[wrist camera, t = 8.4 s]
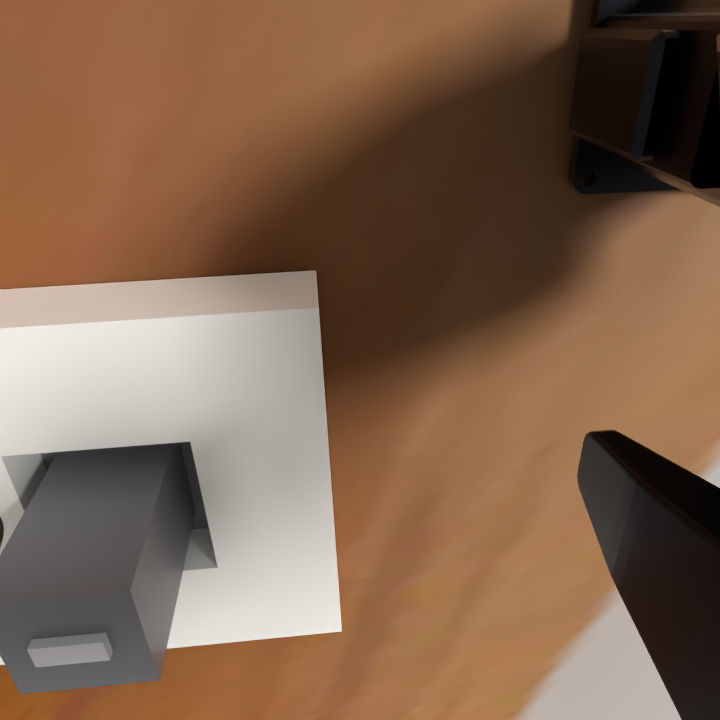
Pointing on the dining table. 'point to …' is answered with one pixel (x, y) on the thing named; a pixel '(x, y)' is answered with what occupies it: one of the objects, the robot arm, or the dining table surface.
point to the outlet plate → (190, 430)
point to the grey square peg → (96, 569)
